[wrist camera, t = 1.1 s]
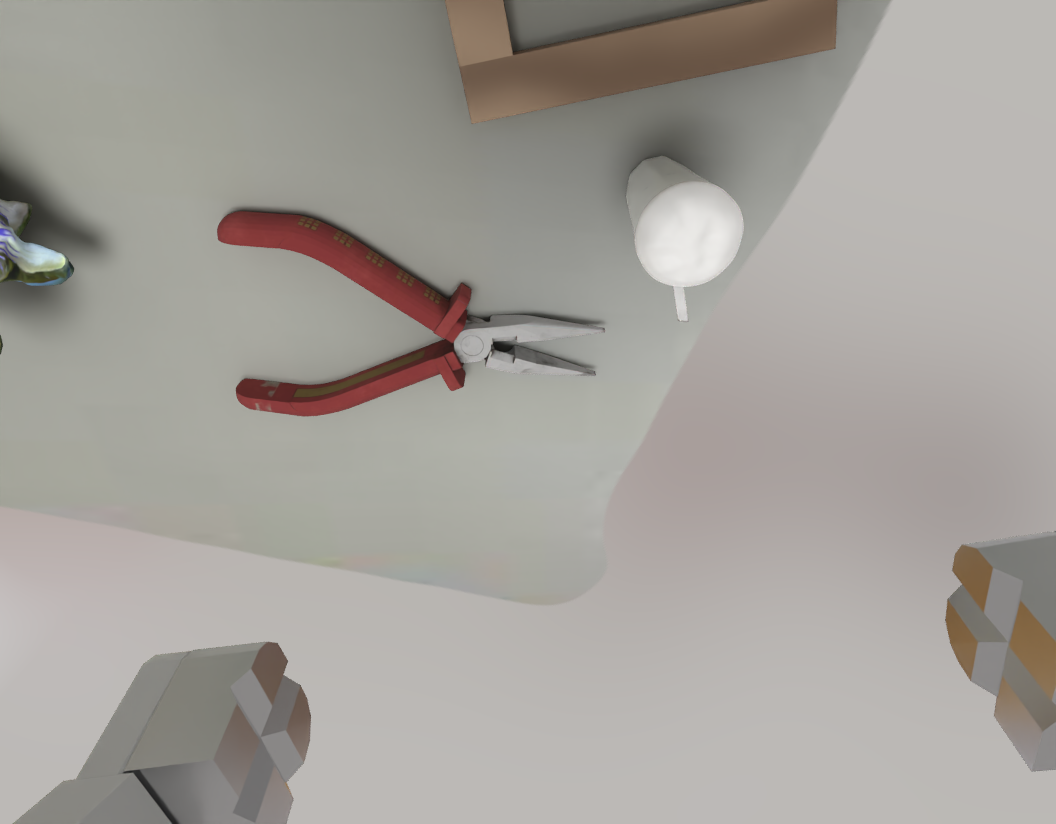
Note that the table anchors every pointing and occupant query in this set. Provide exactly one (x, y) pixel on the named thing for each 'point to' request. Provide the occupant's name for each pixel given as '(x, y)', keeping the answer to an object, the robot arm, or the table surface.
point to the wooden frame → (626, 52)
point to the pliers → (410, 296)
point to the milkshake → (681, 225)
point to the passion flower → (27, 252)
